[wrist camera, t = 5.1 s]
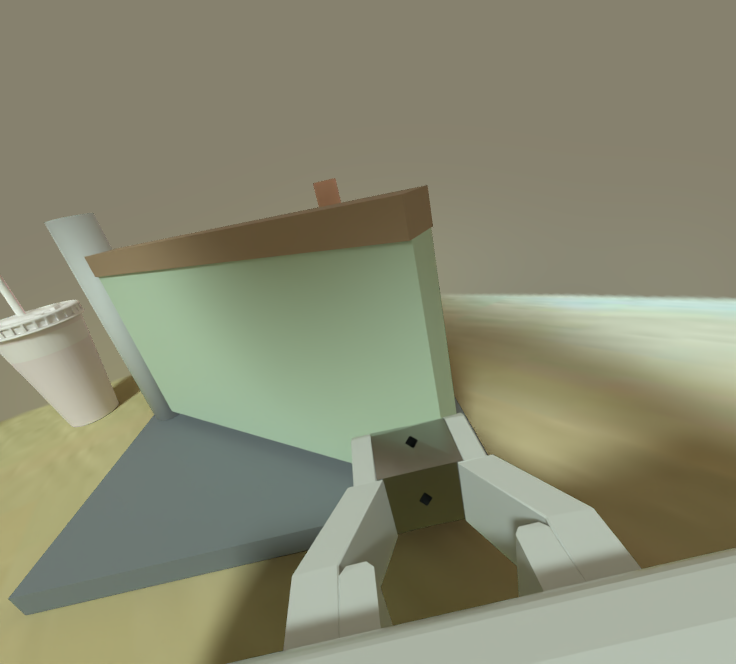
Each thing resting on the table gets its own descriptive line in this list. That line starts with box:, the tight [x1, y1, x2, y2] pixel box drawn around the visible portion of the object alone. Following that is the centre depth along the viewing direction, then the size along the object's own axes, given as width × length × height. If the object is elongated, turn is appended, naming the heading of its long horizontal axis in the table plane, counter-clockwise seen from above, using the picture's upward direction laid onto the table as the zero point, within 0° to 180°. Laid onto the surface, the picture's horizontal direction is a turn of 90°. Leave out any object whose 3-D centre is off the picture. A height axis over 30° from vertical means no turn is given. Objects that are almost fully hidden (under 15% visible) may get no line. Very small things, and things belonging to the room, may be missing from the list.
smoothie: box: [0, 275, 119, 427], centre depth 28 cm, size 6×6×14 cm
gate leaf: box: [84, 185, 457, 463], centre depth 17 cm, size 20×2×11 cm, turn 60°
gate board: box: [8, 178, 488, 615], centre depth 23 cm, size 21×24×15 cm
